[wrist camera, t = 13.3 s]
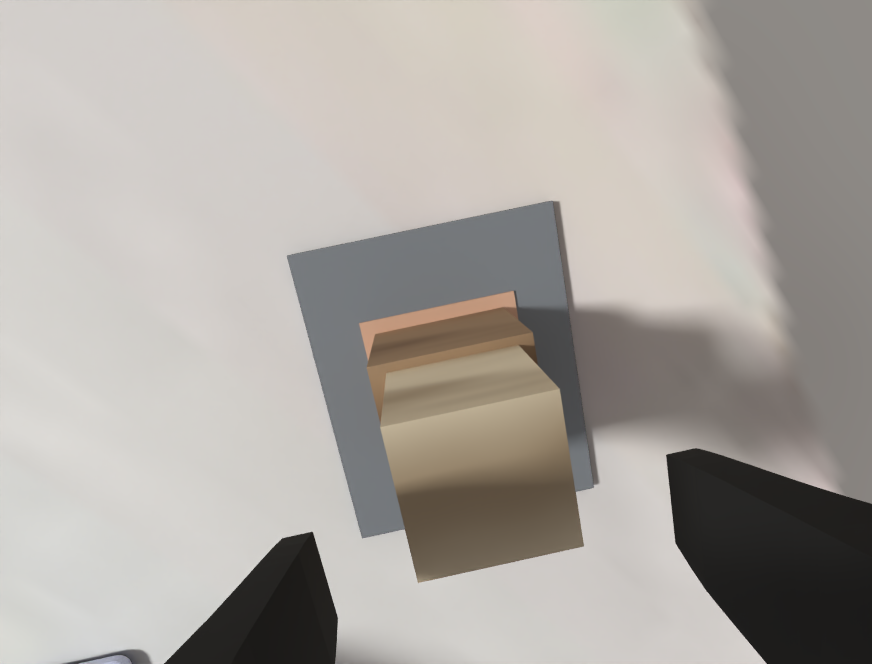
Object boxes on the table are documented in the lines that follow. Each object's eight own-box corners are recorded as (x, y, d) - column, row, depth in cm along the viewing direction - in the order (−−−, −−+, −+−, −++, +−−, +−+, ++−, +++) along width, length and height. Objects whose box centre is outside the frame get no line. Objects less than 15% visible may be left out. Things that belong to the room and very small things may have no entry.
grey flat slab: (591, 484, 21) (594, 489, 21) (362, 534, 21) (362, 539, 21) (550, 201, 19) (553, 200, 18) (288, 255, 19) (286, 255, 18)
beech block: (538, 465, 16) (583, 545, 12) (414, 492, 16) (418, 582, 12) (518, 345, 15) (559, 388, 11) (386, 373, 15) (380, 427, 11)
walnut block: (523, 426, 20) (556, 482, 16) (403, 452, 20) (402, 516, 16) (503, 306, 19) (532, 332, 15) (374, 334, 19) (366, 367, 15)
